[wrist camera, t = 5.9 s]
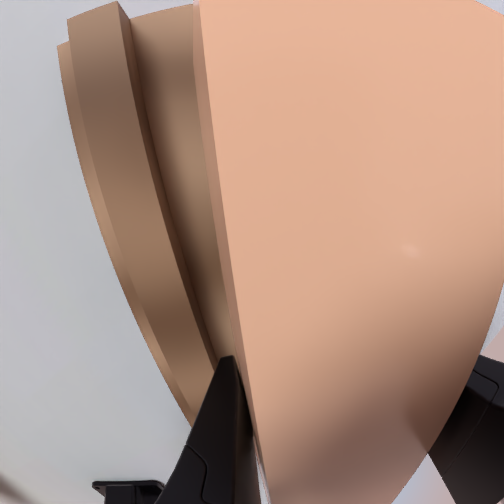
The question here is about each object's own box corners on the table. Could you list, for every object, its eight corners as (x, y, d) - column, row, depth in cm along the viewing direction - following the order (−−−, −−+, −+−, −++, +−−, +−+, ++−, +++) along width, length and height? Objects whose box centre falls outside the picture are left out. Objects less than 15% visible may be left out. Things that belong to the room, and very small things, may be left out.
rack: (377, 386, 19) (396, 417, 16) (202, 435, 18) (207, 473, 15) (360, 3, 10) (399, -16, 7) (66, 50, 9) (33, 35, 6)
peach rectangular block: (331, 429, 14) (373, 524, 9) (254, 447, 14) (280, 552, 8) (338, 58, 8) (514, 20, 2) (193, 65, 7) (194, -47, 2)
